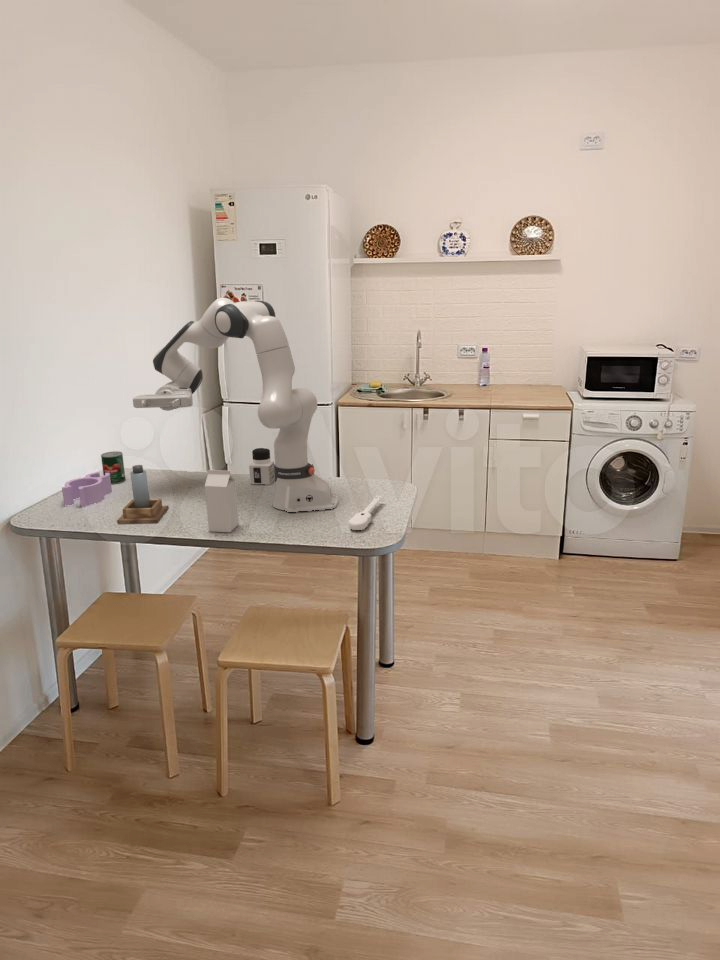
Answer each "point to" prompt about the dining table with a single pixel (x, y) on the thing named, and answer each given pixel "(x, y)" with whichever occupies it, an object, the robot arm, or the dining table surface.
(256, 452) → the container
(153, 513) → the carton stand
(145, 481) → the bottle
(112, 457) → the canned tomato
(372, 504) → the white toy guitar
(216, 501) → the milk carton
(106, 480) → the clip
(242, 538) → the dining table surface
